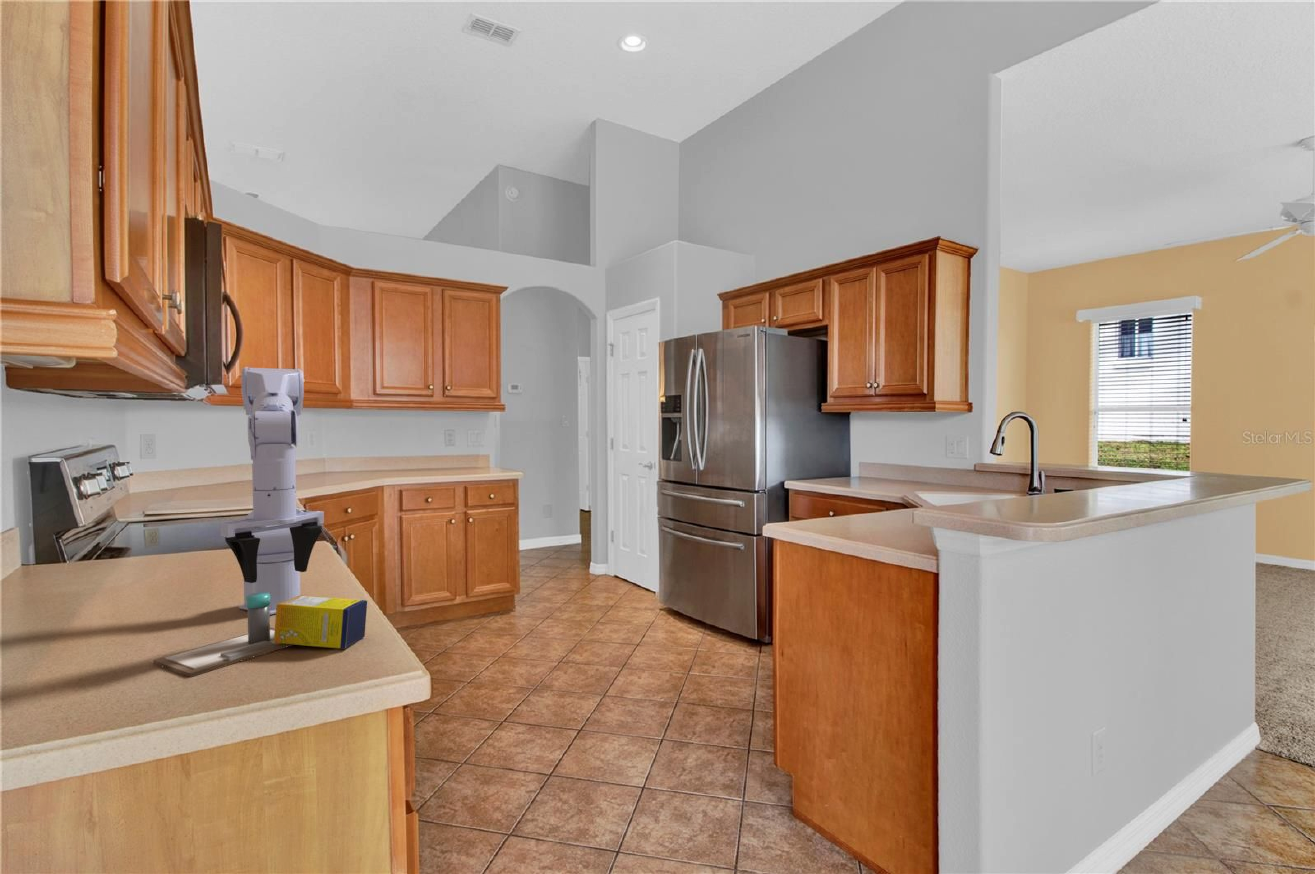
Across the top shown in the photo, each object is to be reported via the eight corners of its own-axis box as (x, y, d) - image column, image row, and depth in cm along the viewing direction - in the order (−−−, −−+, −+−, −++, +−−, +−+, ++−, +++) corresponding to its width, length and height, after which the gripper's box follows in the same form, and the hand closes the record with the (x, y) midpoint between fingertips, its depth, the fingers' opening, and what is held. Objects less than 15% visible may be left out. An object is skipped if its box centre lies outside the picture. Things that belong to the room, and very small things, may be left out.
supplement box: (365, 638, 98) (296, 632, 99) (368, 599, 98) (299, 594, 99) (345, 650, 92) (272, 644, 93) (348, 609, 93) (275, 603, 93)
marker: (243, 643, 94) (242, 596, 94) (264, 637, 97) (263, 591, 97) (254, 646, 93) (253, 599, 93) (275, 640, 95) (274, 594, 95)
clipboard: (153, 663, 88) (153, 655, 88) (270, 630, 102) (270, 623, 102) (189, 677, 83) (189, 669, 83) (307, 640, 97) (307, 633, 97)
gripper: (237, 495, 89) (240, 590, 89) (334, 485, 102) (336, 569, 102) (212, 492, 93) (214, 584, 93) (308, 483, 105) (310, 564, 105)
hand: (276, 576), depth 98 cm, fingers open, 7 cm apart
